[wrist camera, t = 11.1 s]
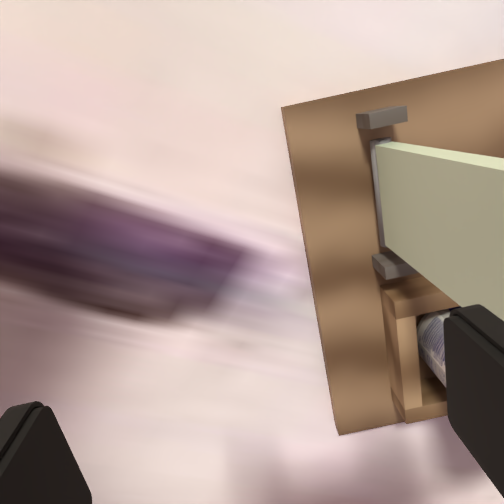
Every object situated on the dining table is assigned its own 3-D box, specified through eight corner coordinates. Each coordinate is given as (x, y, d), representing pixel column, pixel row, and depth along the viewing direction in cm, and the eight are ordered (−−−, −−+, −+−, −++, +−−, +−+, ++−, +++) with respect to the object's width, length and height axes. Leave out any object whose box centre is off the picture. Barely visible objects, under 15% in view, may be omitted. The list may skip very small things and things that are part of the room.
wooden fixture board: (280, 107, 24) (290, 105, 20) (579, 42, 24) (640, 29, 20) (335, 424, 32) (348, 462, 28) (559, 376, 31) (601, 409, 28)
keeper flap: (366, 140, 23) (501, 164, 12) (386, 136, 23) (541, 156, 12) (377, 243, 25) (501, 346, 14) (396, 239, 25) (534, 339, 14)
